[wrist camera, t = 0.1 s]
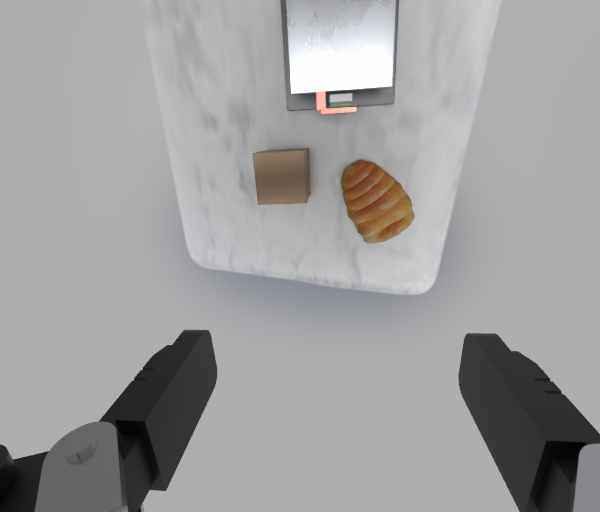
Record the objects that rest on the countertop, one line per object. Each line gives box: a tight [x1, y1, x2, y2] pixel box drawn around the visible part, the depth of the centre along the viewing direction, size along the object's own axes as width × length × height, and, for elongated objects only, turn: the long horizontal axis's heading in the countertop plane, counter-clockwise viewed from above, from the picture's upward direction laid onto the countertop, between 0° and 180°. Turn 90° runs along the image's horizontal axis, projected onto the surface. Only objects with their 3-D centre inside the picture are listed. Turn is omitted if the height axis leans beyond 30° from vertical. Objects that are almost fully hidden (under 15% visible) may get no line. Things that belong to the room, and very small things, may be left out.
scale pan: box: [286, 0, 396, 114], centre depth 28 cm, size 11×9×2 cm
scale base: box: [281, 0, 399, 111], centre depth 29 cm, size 11×11×6 cm
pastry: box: [341, 160, 414, 243], centre depth 35 cm, size 9×7×4 cm
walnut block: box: [253, 148, 310, 205], centre depth 34 cm, size 5×5×6 cm
